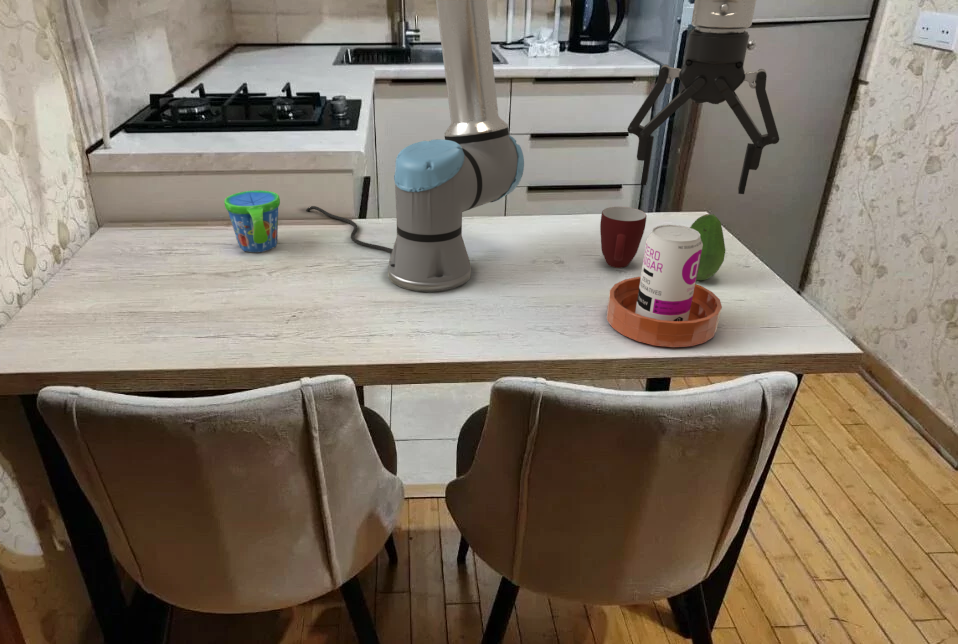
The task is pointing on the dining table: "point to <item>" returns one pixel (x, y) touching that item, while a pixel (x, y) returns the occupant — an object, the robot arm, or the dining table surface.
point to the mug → (621, 234)
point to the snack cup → (254, 219)
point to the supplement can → (669, 273)
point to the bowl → (663, 331)
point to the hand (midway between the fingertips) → (691, 187)
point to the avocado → (709, 245)
